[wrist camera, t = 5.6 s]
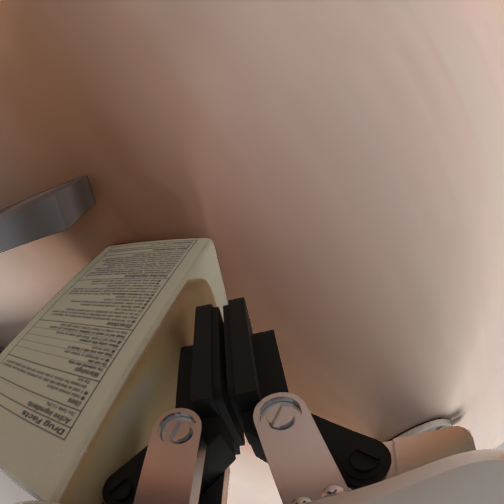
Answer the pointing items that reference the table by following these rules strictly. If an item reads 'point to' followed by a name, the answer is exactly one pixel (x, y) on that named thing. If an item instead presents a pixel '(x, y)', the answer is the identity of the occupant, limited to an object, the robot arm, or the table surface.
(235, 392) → the robot arm
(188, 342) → the skincare box
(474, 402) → the table surface
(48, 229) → the u rest
